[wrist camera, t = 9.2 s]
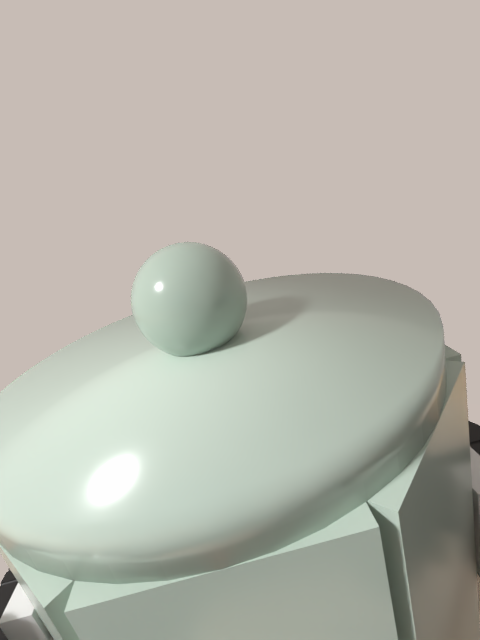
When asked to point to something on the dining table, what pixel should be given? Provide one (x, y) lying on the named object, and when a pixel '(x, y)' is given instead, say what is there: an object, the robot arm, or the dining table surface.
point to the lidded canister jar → (245, 464)
